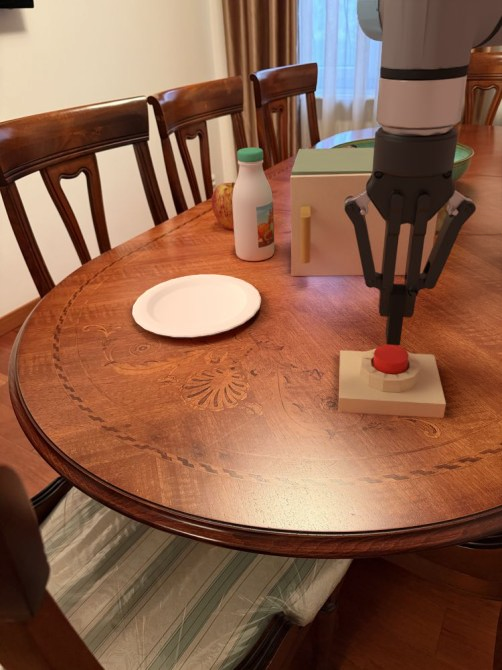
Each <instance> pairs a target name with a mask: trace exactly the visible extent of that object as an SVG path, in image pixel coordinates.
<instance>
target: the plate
mask: <svg viewBox="0 0 502 670" xmlns="http://www.w3.org/2000/svg"><path fill="white" fill-rule="evenodd" d="M261 303H262V298H261V295H260V292H259V290H258V289H257V288H256V287H255V286H253V284H251V283H249V282H247V281H246V280H243V279H241V278H237V277H234V276H231V275H223V274H217V273H216V274H215V273H214V274H212V273H210V274H209V273H207V274H206V273H199V274H191V275H185V276H180V277H176V278H172V279H168V280H166V281H163V282H160V283H158V284H156V285H154V286H152V287H151V288H149V289H146V291H145V292H143V293H142V294H141V295H140V296H138V297H137V298H136V300H135V302H134V304H133V306H132V312H131V313H132V314H131V315H132V317H133V320H134V321H135V323H136V324H137V325H138V326H139V327H141V328H142V329H143V330H144V331H146V332H149V333H152V334H154V335H157V336H159V337H167V338H172V339H199V338H207V337H212V336H217V335H220V334H224V333H228V332H230V331H232V330H234V329H237V328H239V327H241V326H243V325H244V324H245V323H247V322H248V321H249V320H251V319H252V318H254V317H255V315H256V314H257V313H258V311H259V310H260V308H261Z"/></svg>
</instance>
